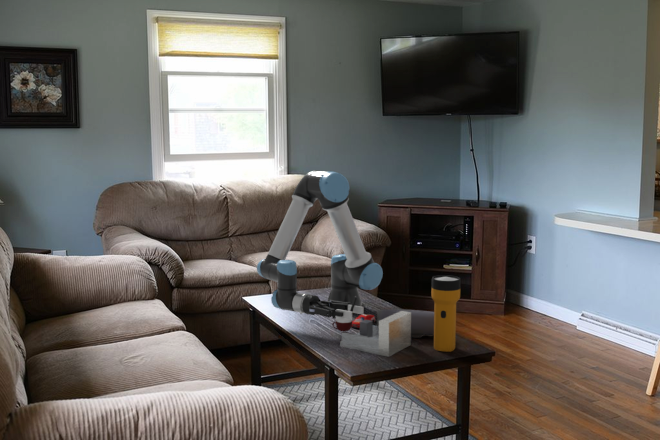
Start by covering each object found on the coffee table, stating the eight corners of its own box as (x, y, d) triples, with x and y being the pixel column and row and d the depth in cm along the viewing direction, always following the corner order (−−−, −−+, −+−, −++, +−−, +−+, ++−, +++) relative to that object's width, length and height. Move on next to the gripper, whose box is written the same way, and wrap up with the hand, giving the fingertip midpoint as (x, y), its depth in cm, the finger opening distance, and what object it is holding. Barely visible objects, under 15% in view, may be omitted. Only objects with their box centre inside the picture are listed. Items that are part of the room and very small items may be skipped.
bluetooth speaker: (439, 333, 260) (439, 308, 258) (437, 341, 251) (438, 314, 249) (379, 330, 264) (379, 305, 263) (376, 337, 255) (376, 311, 254)
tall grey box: (365, 335, 250) (365, 319, 250) (372, 336, 249) (372, 320, 248) (359, 338, 247) (359, 322, 246) (366, 339, 246) (366, 323, 245)
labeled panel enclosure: (363, 335, 258) (363, 304, 257) (410, 344, 247) (411, 312, 245) (340, 346, 245) (340, 314, 244) (388, 356, 234) (388, 322, 232)
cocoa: (332, 333, 249) (331, 301, 247) (332, 327, 255) (331, 296, 253) (358, 332, 249) (357, 300, 246) (358, 326, 255) (357, 295, 253)
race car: (360, 330, 265) (360, 320, 265) (348, 328, 268) (348, 318, 268) (377, 322, 276) (377, 312, 275) (366, 320, 279) (366, 310, 279)
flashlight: (462, 275, 242) (457, 281, 233) (461, 345, 245) (456, 354, 236) (435, 273, 245) (428, 278, 236) (433, 342, 249) (427, 351, 240)
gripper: (322, 307, 270) (371, 316, 257) (291, 319, 254) (342, 329, 241) (322, 289, 269) (371, 297, 256) (290, 299, 253) (342, 309, 240)
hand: (357, 313), depth 248 cm, fingers closed on cocoa, 7 cm apart
